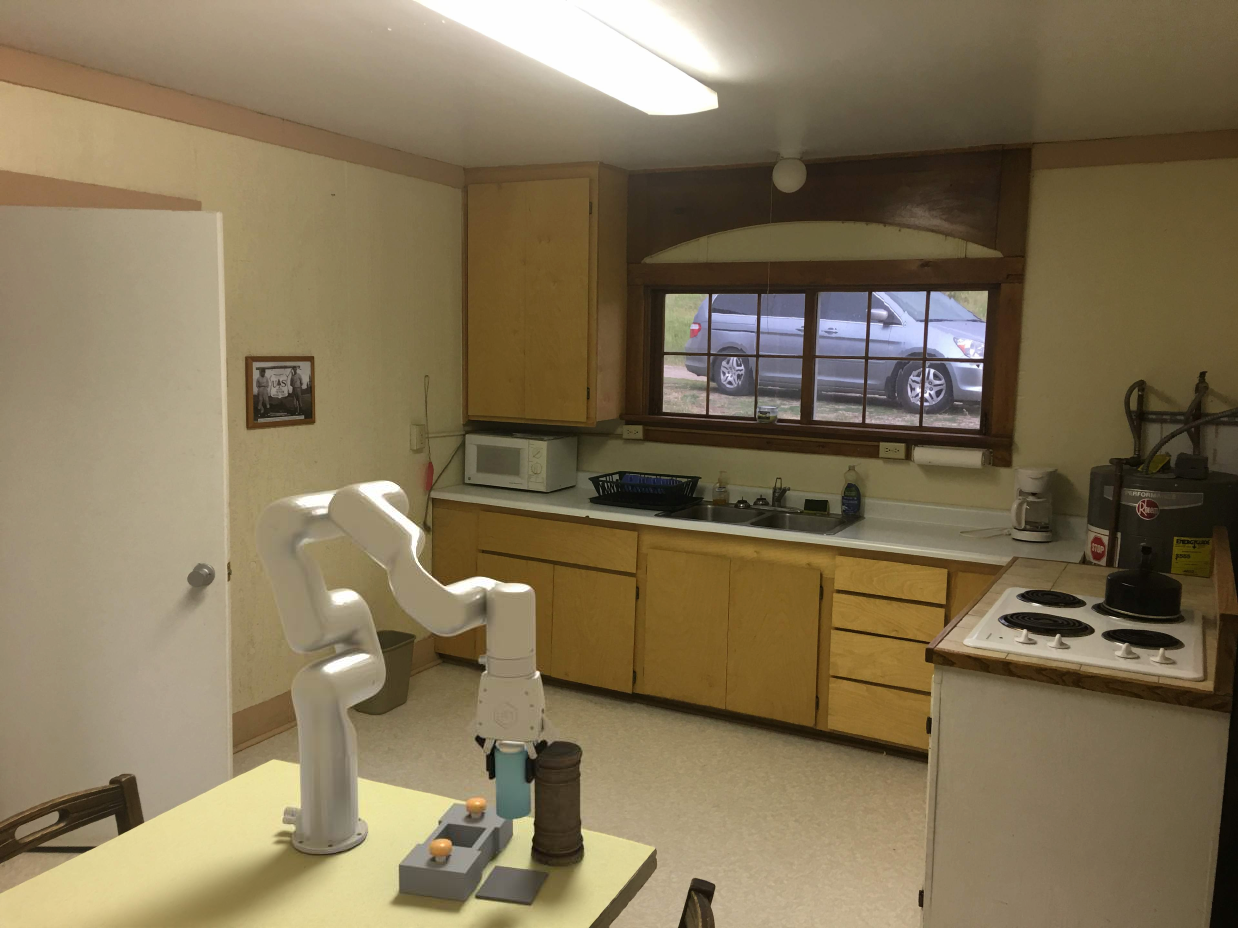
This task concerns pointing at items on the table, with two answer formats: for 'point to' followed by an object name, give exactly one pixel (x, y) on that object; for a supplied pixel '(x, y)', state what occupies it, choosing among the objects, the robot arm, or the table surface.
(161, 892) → the table surface
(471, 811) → the orange mushroom peg
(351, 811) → the robot arm
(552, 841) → the container
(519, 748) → the cartridge
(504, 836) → the housing
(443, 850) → the plunger
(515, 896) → the mat
